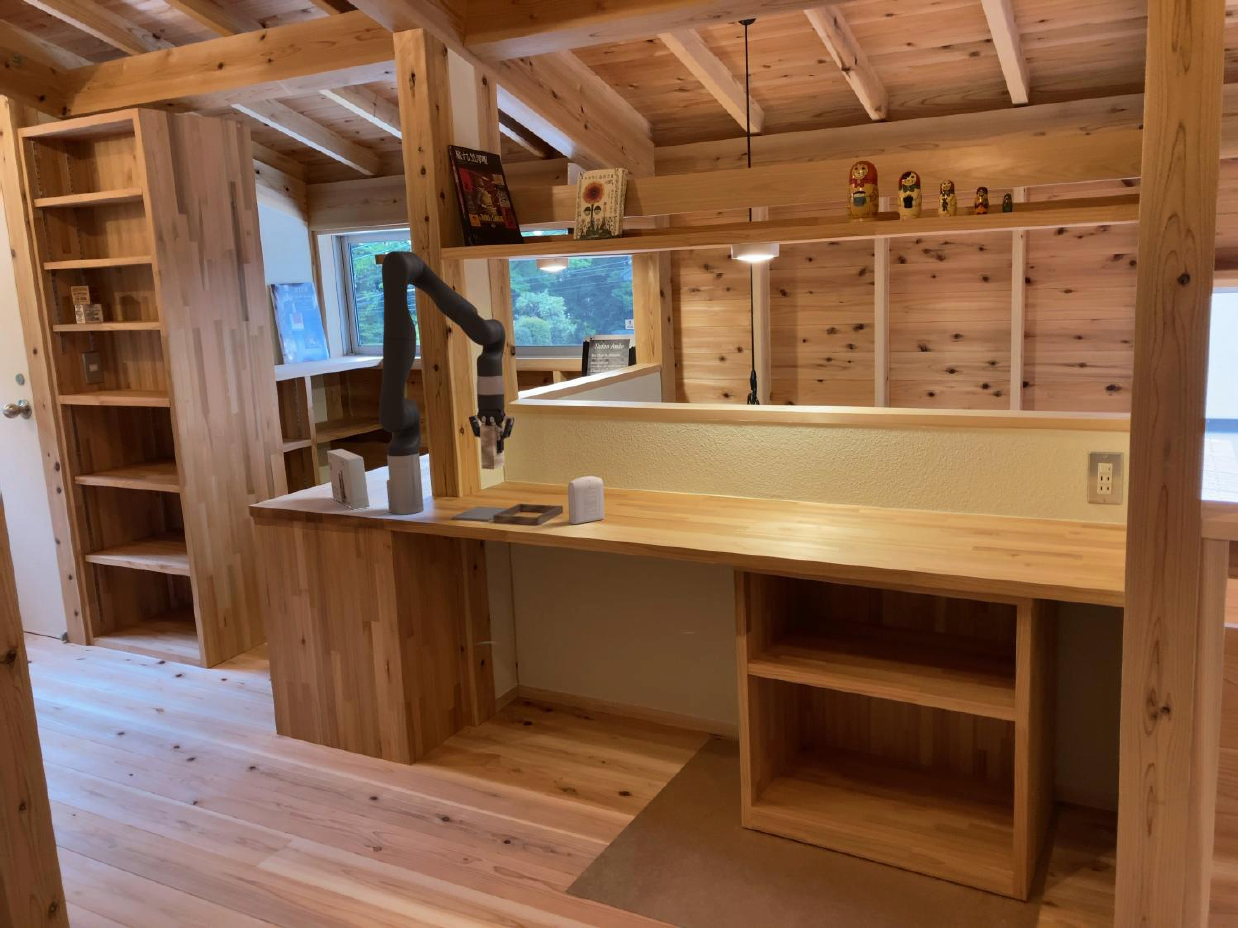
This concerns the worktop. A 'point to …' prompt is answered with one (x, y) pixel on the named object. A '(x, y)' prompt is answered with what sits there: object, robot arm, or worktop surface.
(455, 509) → the worktop surface
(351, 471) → the skincare box
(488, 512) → the grey mat
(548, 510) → the frame
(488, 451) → the block
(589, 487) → the photo printer
